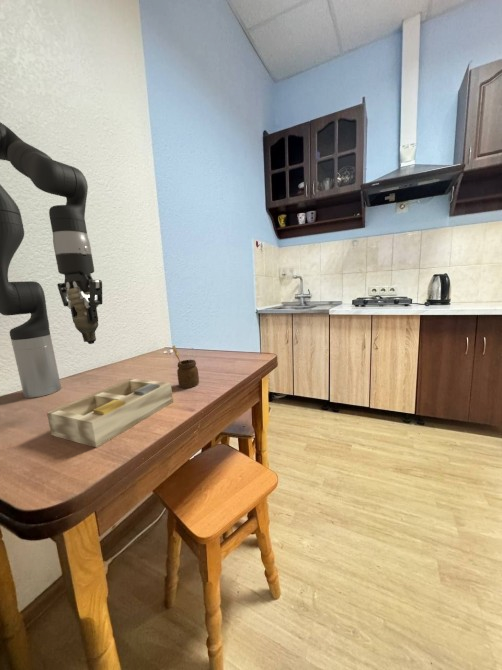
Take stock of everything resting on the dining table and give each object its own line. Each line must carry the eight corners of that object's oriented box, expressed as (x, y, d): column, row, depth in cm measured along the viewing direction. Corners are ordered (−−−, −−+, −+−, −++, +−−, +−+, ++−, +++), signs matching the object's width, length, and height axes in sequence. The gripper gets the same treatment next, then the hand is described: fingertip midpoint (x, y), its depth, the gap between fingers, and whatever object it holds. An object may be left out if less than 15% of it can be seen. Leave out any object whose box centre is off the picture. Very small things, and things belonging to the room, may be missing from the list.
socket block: (51, 435, 57) (46, 409, 56) (133, 396, 76) (130, 376, 75) (96, 447, 51) (91, 419, 50) (173, 401, 70) (170, 380, 69)
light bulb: (90, 346, 68) (79, 283, 65) (71, 346, 69) (59, 285, 66) (106, 341, 73) (97, 283, 70) (88, 341, 74) (78, 285, 71)
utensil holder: (197, 387, 79) (192, 346, 77) (175, 389, 79) (170, 348, 77) (201, 380, 85) (197, 342, 82) (180, 382, 85) (176, 343, 83)
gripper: (39, 255, 67) (53, 325, 70) (77, 248, 60) (90, 325, 63) (70, 257, 73) (82, 321, 76) (107, 251, 67) (118, 320, 70)
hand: (85, 322), depth 70 cm, fingers closed on light bulb, 5 cm apart
